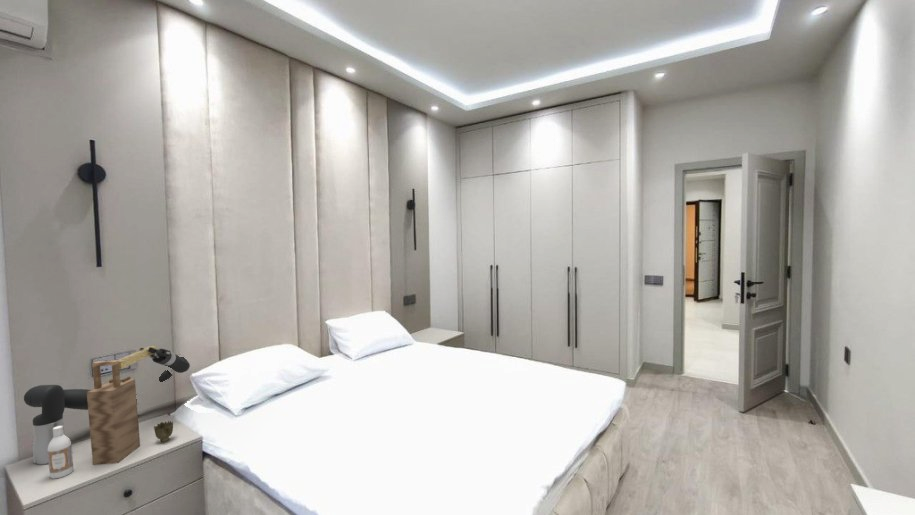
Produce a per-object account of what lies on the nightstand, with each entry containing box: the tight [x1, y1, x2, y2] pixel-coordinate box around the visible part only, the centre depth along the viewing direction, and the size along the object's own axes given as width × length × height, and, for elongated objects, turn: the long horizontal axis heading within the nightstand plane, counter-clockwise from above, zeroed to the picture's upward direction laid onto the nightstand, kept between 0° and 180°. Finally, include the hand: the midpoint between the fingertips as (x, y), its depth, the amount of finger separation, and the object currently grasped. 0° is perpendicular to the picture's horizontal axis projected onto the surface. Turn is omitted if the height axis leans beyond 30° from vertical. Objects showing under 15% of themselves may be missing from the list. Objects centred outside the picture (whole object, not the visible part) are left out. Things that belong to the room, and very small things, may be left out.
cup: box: [153, 420, 174, 443], centre depth 189 cm, size 8×7×8 cm
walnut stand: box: [87, 359, 141, 466], centre depth 176 cm, size 10×14×44 cm
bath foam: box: [48, 426, 74, 480], centre depth 163 cm, size 7×7×20 cm
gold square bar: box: [118, 345, 158, 370], centre depth 192 cm, size 4×26×4 cm, turn 7°
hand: (145, 349), depth 198 cm, fingers closed on gold square bar, 3 cm apart
